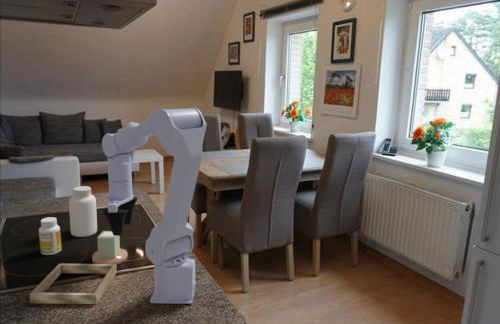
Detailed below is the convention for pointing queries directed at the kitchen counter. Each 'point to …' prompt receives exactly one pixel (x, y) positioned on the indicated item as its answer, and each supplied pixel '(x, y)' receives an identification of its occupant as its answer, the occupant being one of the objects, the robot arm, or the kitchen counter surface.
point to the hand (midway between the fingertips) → (122, 229)
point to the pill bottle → (82, 212)
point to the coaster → (117, 260)
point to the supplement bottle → (49, 236)
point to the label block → (108, 245)
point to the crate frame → (73, 298)
